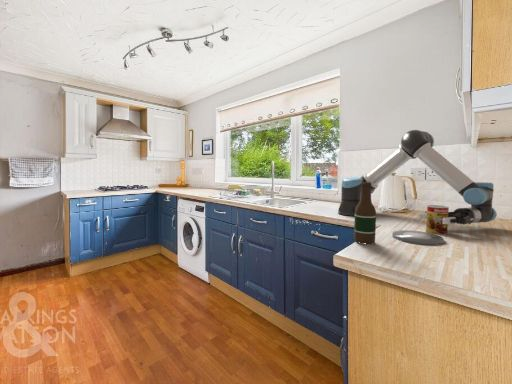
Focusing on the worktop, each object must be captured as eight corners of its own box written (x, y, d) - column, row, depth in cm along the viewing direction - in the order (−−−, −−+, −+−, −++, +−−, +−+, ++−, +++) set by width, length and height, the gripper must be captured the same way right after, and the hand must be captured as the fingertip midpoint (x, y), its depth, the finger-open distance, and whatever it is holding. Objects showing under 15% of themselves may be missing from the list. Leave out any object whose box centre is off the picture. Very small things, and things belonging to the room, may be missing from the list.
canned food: (437, 235, 110) (439, 208, 109) (421, 230, 117) (423, 205, 116) (451, 233, 112) (453, 207, 111) (434, 229, 119) (436, 204, 118)
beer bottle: (379, 244, 97) (382, 182, 95) (362, 245, 95) (365, 182, 93) (365, 238, 105) (367, 181, 102) (349, 240, 103) (351, 181, 100)
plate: (386, 238, 104) (386, 235, 104) (399, 230, 117) (399, 228, 117) (439, 248, 92) (439, 244, 92) (446, 238, 105) (447, 235, 105)
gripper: (494, 229, 108) (457, 233, 102) (441, 218, 130) (407, 221, 124) (496, 212, 107) (458, 214, 101) (442, 204, 130) (408, 206, 124)
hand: (430, 218), depth 113 cm, fingers open, 11 cm apart
